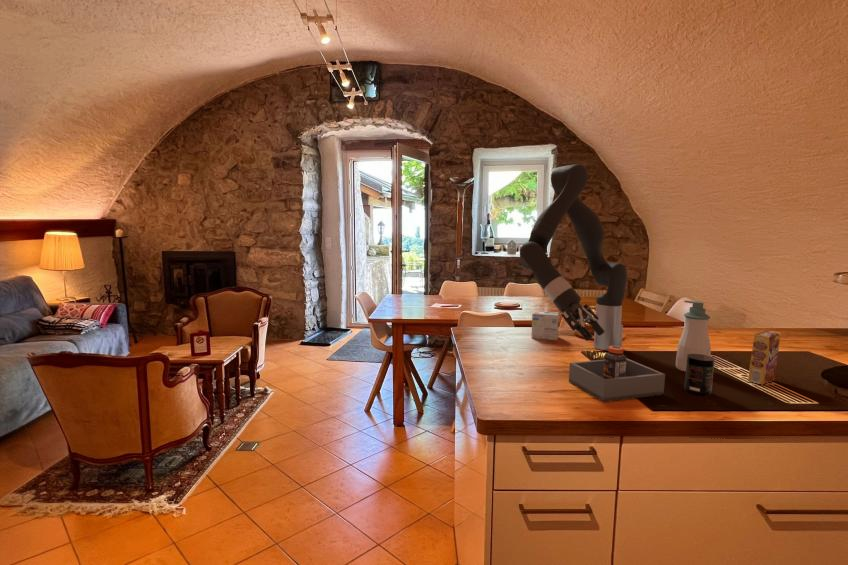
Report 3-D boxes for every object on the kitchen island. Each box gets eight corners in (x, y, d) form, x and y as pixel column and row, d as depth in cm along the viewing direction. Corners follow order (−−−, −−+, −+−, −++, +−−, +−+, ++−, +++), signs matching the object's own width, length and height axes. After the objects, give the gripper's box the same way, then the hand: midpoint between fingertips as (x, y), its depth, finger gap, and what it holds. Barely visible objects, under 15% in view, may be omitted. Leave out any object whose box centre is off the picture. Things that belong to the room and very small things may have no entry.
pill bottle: (599, 381, 133) (601, 344, 132) (617, 380, 134) (620, 344, 133) (609, 388, 128) (611, 350, 126) (628, 387, 128) (631, 349, 127)
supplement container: (713, 391, 128) (716, 356, 127) (709, 398, 123) (713, 362, 122) (686, 386, 133) (689, 352, 131) (681, 392, 127) (684, 357, 126)
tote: (623, 375, 141) (625, 357, 140) (663, 394, 126) (665, 374, 125) (568, 381, 136) (569, 362, 135) (603, 401, 121) (604, 380, 120)
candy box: (763, 386, 133) (769, 336, 131) (747, 382, 137) (752, 333, 134) (775, 380, 138) (781, 332, 136) (759, 376, 141) (764, 329, 139)
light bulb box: (558, 336, 190) (559, 312, 188) (557, 340, 183) (558, 315, 182) (532, 334, 193) (533, 310, 192) (531, 338, 187) (531, 313, 185)
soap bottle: (680, 363, 154) (685, 298, 151) (713, 370, 147) (719, 302, 144) (671, 370, 147) (676, 301, 144) (705, 377, 140) (711, 306, 137)
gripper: (559, 289, 132) (595, 333, 126) (580, 284, 143) (615, 325, 136) (542, 304, 137) (576, 348, 131) (564, 298, 147) (596, 339, 141)
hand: (596, 336), depth 133 cm, fingers open, 8 cm apart
